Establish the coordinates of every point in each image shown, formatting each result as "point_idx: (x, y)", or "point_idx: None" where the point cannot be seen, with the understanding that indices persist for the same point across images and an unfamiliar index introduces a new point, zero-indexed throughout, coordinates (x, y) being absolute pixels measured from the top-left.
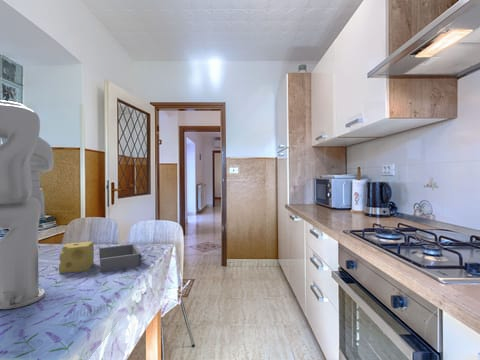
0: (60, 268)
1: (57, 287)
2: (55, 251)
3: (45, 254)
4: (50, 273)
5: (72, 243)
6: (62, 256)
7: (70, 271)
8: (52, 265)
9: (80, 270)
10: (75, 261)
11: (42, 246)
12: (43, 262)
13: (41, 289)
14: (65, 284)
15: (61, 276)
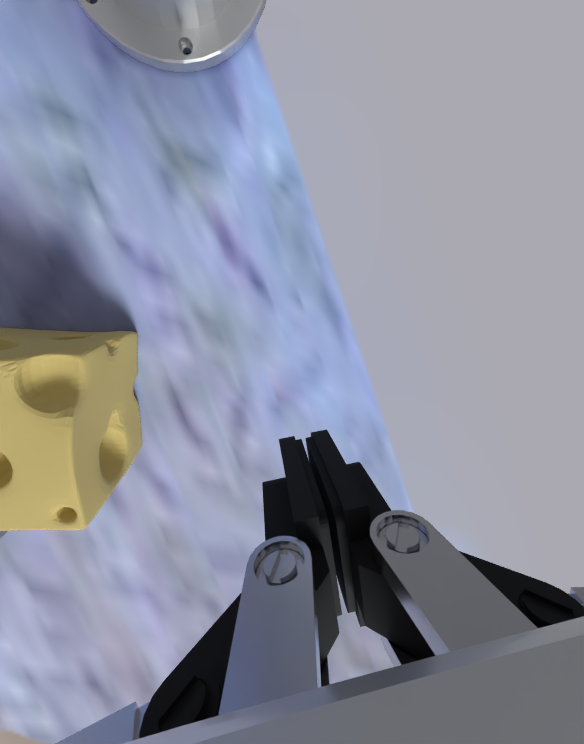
0: (120, 331)
1: (49, 86)
2: None
3: None
4: (184, 349)
5: (36, 504)
6: (76, 346)
7: (83, 332)
8: (223, 471)
9: (31, 329)
10: (19, 337)
11: None
12: None
13: (88, 4)
14: (24, 123)
15: (107, 279)
